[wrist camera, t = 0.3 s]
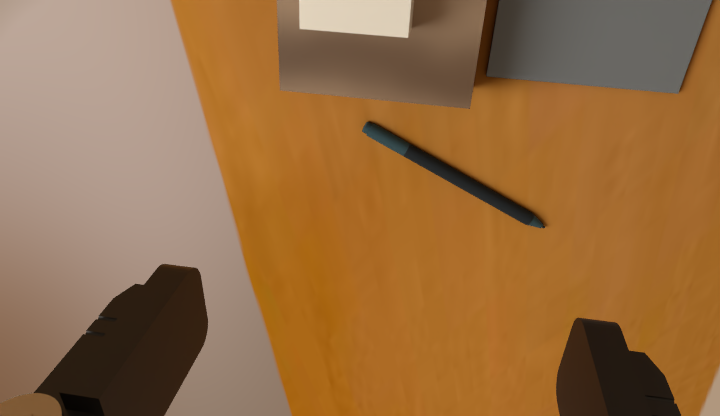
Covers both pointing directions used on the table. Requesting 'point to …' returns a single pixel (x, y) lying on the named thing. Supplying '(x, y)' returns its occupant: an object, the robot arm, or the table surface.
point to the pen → (451, 175)
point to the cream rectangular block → (358, 16)
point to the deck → (387, 56)
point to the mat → (597, 42)
